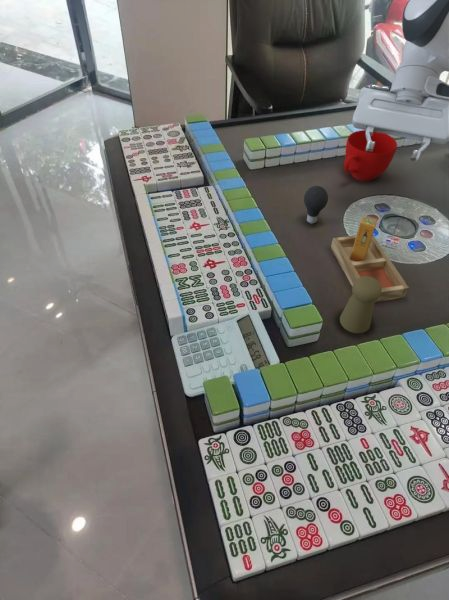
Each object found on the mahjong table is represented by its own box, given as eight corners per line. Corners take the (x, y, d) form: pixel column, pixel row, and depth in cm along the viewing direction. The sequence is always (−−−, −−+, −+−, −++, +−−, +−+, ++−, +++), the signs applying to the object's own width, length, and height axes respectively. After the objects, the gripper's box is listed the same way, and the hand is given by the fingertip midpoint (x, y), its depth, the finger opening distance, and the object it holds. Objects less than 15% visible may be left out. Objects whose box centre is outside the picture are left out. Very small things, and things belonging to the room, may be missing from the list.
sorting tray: (368, 242, 102) (371, 232, 100) (404, 297, 90) (409, 287, 88) (330, 247, 101) (332, 237, 98) (362, 304, 89) (365, 294, 86)
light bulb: (326, 220, 107) (334, 186, 100) (316, 232, 104) (323, 197, 97) (306, 213, 110) (312, 178, 102) (295, 224, 106) (301, 189, 99)
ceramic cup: (321, 178, 120) (328, 145, 113) (358, 158, 128) (366, 125, 120) (359, 199, 114) (369, 164, 106) (395, 176, 121) (407, 142, 114)
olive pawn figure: (336, 310, 87) (348, 271, 79) (365, 309, 88) (380, 270, 80) (344, 334, 83) (357, 295, 75) (374, 332, 84) (391, 294, 76)
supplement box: (366, 254, 98) (378, 218, 91) (363, 263, 96) (375, 228, 89) (352, 250, 99) (363, 214, 92) (348, 259, 97) (359, 223, 90)
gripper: (363, 75, 90) (342, 140, 91) (467, 91, 85) (444, 160, 86) (362, 89, 96) (343, 150, 97) (459, 105, 91) (437, 170, 92)
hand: (391, 155), depth 91 cm, fingers open, 8 cm apart
